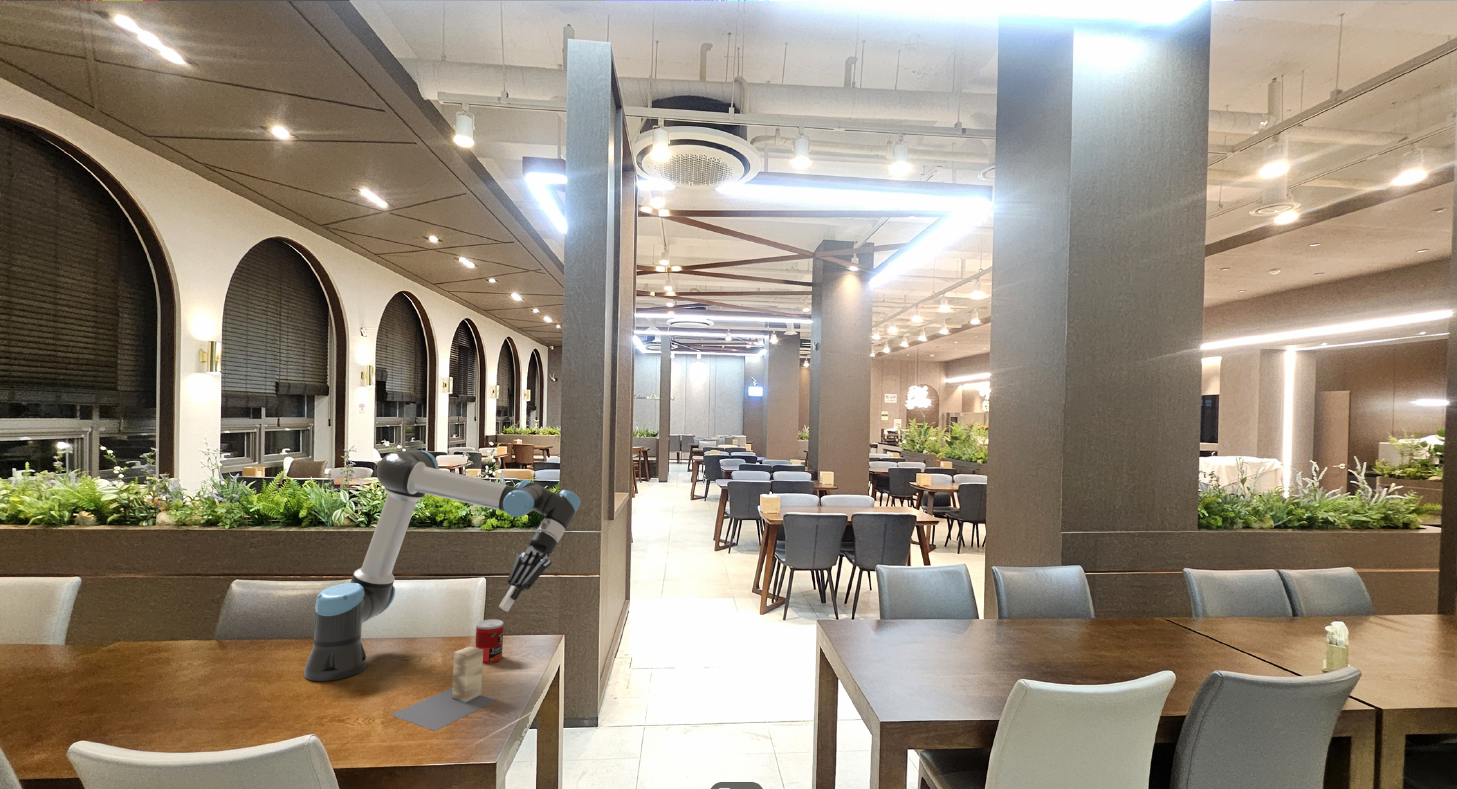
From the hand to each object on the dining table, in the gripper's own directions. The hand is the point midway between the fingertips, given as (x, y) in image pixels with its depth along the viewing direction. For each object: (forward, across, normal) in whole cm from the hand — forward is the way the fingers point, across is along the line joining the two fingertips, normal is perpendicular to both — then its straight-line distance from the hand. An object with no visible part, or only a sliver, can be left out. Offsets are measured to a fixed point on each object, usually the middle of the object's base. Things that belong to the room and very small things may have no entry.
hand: (503, 608), depth 175 cm
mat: (+27, +2, -1) cm, 27 cm away
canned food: (+10, -16, +20) cm, 28 cm away
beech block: (+23, +1, +4) cm, 23 cm away
